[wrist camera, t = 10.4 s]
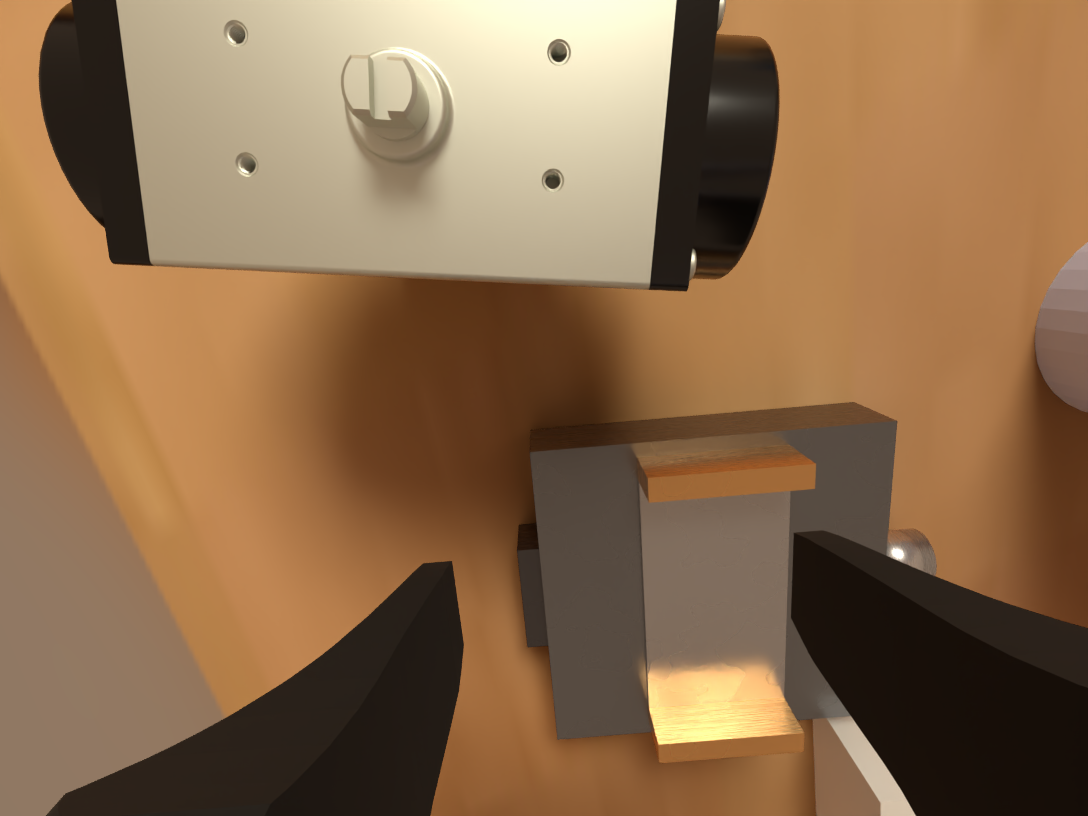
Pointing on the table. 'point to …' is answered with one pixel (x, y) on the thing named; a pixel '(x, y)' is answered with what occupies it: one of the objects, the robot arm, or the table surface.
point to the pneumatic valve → (416, 136)
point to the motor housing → (697, 569)
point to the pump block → (852, 773)
